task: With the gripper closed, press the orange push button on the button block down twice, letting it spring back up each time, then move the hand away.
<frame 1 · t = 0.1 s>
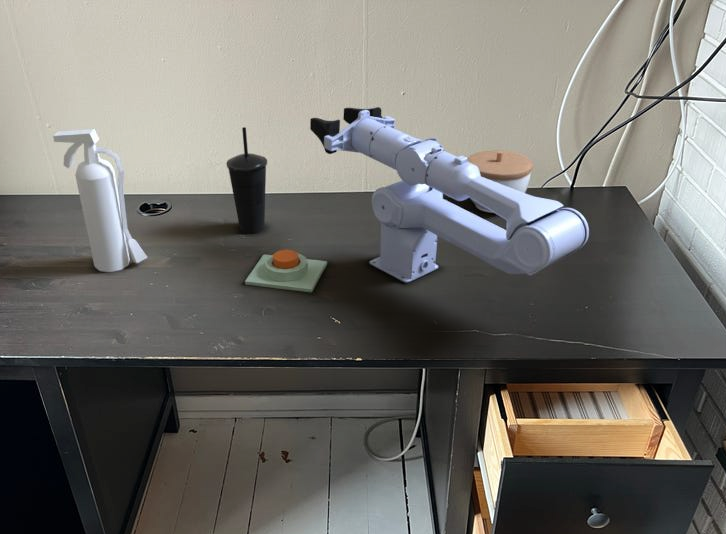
hand: (328, 118, 130), 22 cm above the table, tool horizontal, fingers open, 7 cm apart
drinking cup: (252, 229, 145), on the table
lidded bowl: (493, 206, 148), on the table
button block: (286, 274, 129), on the table
fire extinguisher: (117, 265, 135), on the table
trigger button: (285, 259, 128), point 3 cm above the table, slide at 0.1 cm
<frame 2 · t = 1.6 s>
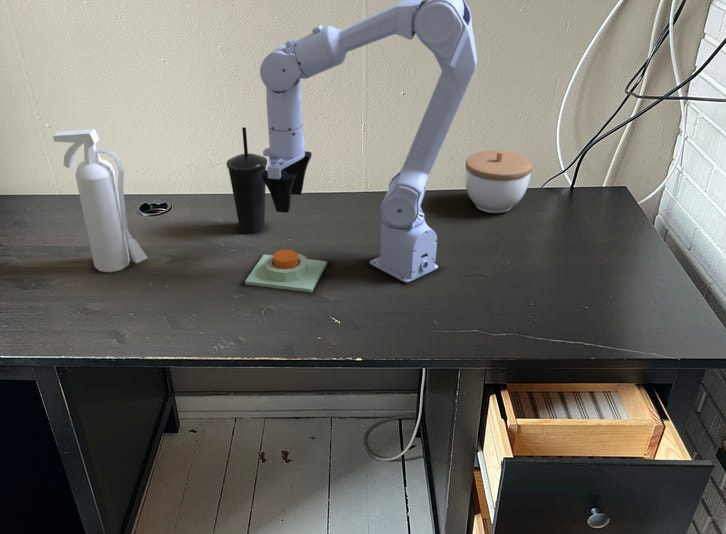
hand: (289, 202, 129), 10 cm above the table, tool pointing down, fingers open, 7 cm apart
nothing on the table moved.
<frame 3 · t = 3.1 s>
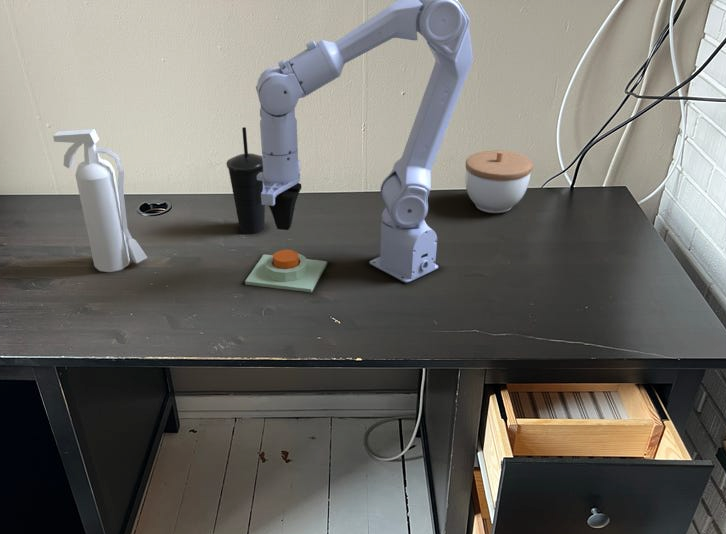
hand: (283, 227, 124), 9 cm above the table, tool pointing down, fingers closed
nothing on the table moved.
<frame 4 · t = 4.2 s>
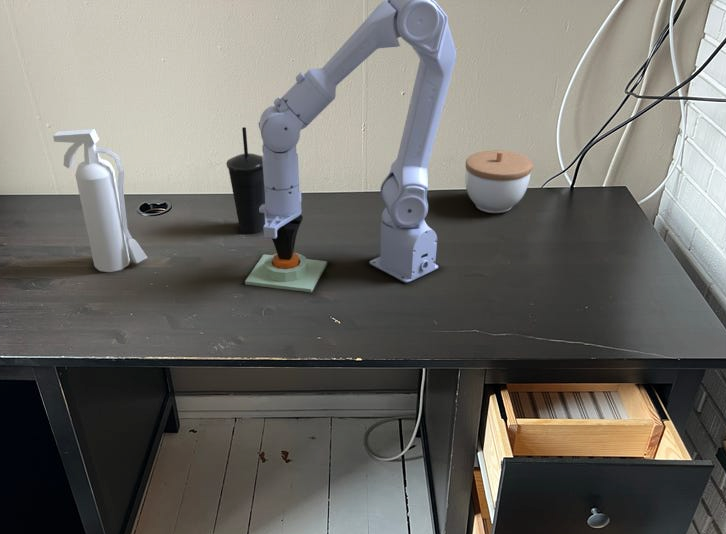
hand: (285, 257, 127), 3 cm above the table, tool pointing down, fingers closed, pressing on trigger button
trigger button: (286, 261, 128), point 3 cm above the table, slide at -0.3 cm, touching gripper
everything else where it was.
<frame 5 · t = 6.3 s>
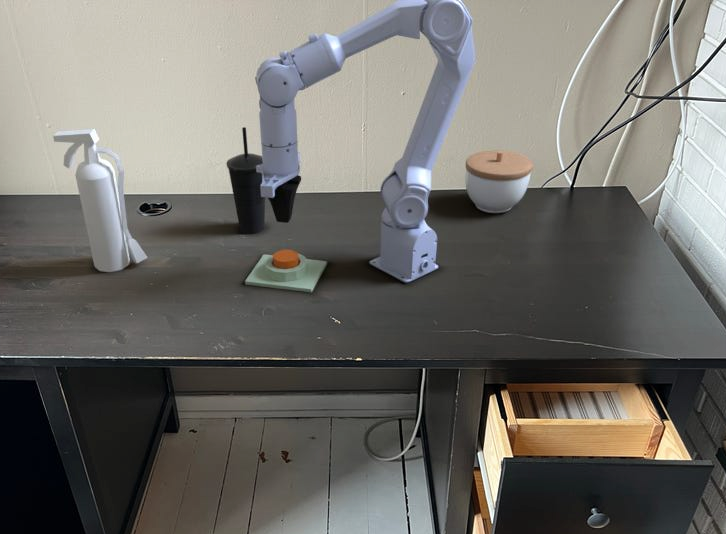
hand: (283, 220, 123), 10 cm above the table, tool pointing down, fingers closed
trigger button: (285, 259, 128), point 3 cm above the table, slide at 0.1 cm
everything else where it was.
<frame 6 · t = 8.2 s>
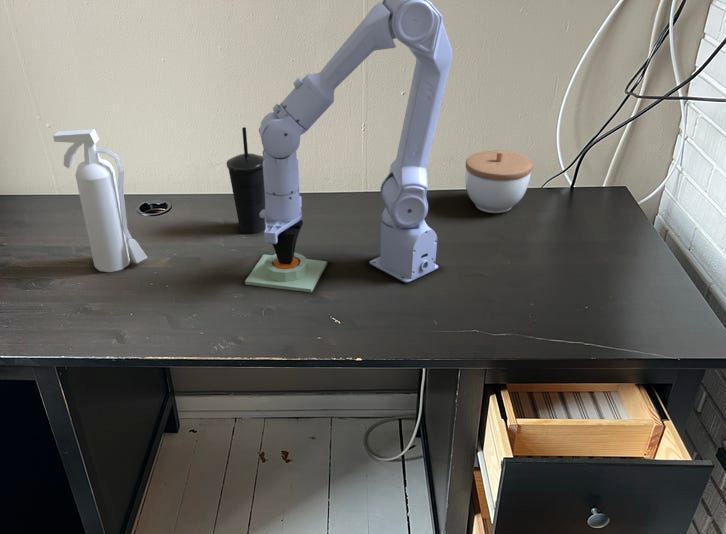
hand: (285, 262, 128), 2 cm above the table, tool pointing down, fingers closed, pressing on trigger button
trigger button: (286, 266, 128), point 2 cm above the table, slide at -1.2 cm, touching gripper
everything else where it was.
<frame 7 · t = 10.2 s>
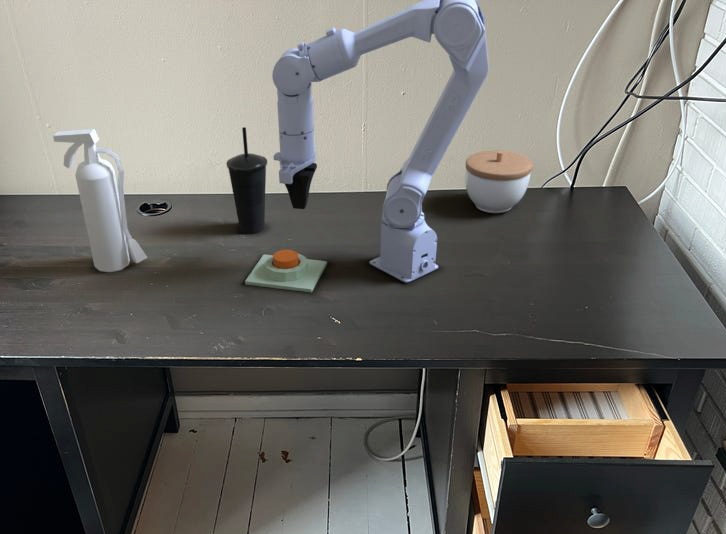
hand: (299, 207, 127), 10 cm above the table, tool pointing down, fingers closed
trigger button: (285, 259, 128), point 3 cm above the table, slide at 0.1 cm
everything else where it was.
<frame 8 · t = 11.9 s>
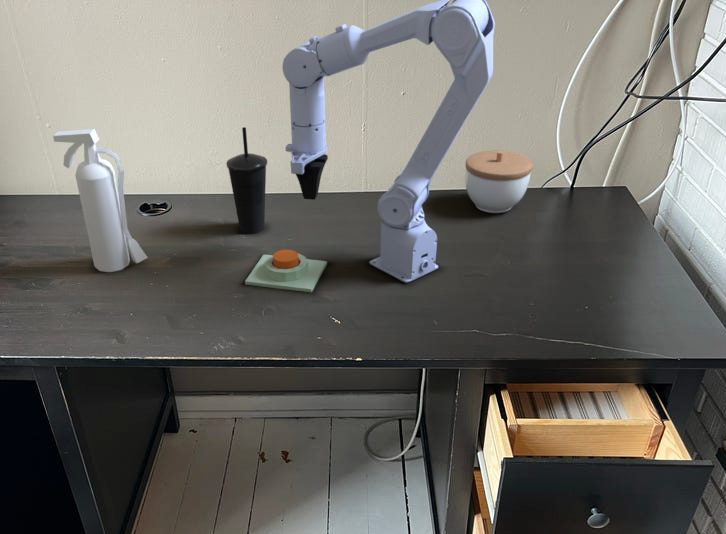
hand: (310, 197, 130), 10 cm above the table, tool pointing down, fingers closed
nothing on the table moved.
at the end: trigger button pushed in 1.2 cm at the most during the clip, back to where it started at the end; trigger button slide at 0.1 cm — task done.
